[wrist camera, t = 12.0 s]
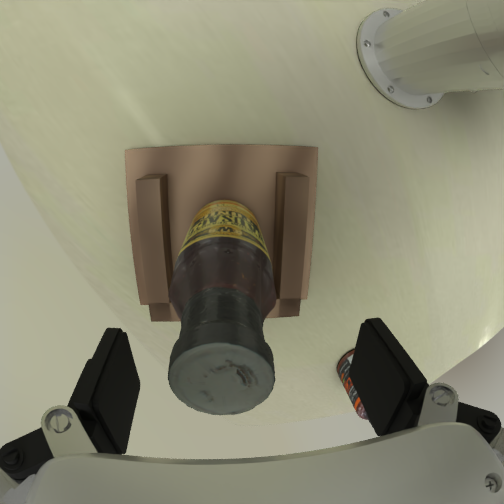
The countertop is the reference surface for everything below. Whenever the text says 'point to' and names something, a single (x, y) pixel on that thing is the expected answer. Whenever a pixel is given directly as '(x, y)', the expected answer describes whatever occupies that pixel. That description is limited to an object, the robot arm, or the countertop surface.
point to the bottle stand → (213, 189)
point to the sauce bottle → (222, 312)
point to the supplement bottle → (351, 385)
